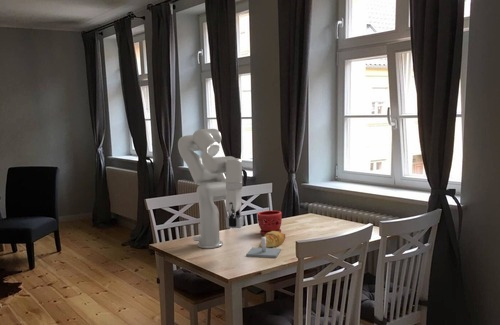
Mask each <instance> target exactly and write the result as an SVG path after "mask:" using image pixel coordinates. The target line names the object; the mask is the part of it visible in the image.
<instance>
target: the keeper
mask: <svg viewBox="0 0 500 325" xmlns="http://www.w3.org/2000/svg"><path fill="white" fill-rule="evenodd" d="M260 238H261V239H260V240H261V241H260V243H261V248H260V247H253V246H252V247H251V249H250V250H248V251H247V253H246V255H245V256H246V257H251V258H253V257H256V258H272V259H273V258H278V256H279V254H280V253H281V251H282V248H275V247H270V248H266V237H264V236H261V237H260Z"/></svg>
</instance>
